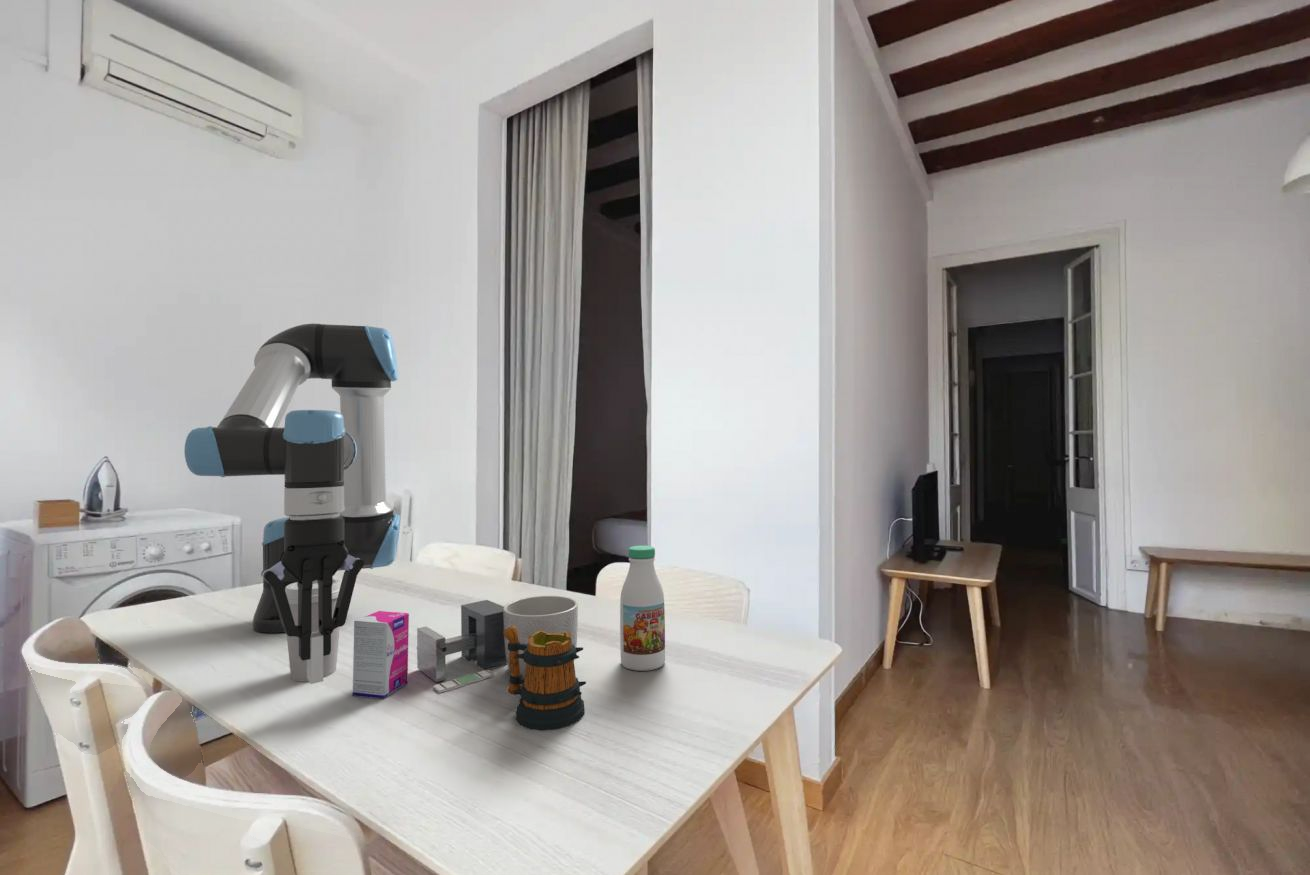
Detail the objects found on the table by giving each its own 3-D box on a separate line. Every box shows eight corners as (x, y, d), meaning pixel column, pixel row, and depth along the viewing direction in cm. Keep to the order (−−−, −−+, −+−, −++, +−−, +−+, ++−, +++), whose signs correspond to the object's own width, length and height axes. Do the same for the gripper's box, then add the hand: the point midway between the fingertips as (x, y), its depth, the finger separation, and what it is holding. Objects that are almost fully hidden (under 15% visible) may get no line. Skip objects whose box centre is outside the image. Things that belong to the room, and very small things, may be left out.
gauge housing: (461, 656, 101) (461, 605, 102) (487, 649, 105) (487, 599, 105) (484, 670, 95) (484, 615, 95) (511, 662, 98) (511, 609, 98)
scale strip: (433, 688, 88) (433, 685, 88) (487, 672, 94) (487, 669, 94) (439, 693, 86) (439, 690, 86) (493, 676, 93) (493, 673, 93)
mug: (600, 704, 82) (599, 624, 82) (560, 738, 73) (559, 648, 73) (526, 689, 87) (525, 615, 88) (481, 719, 78) (480, 635, 78)
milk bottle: (611, 664, 97) (610, 547, 97) (642, 651, 103) (641, 541, 103) (643, 676, 92) (642, 553, 92) (674, 662, 98) (673, 546, 98)
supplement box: (385, 699, 84) (385, 622, 85) (351, 696, 86) (351, 620, 86) (410, 683, 90) (409, 611, 90) (377, 680, 91) (377, 609, 92)
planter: (535, 652, 103) (534, 592, 103) (592, 663, 98) (592, 599, 98) (487, 677, 92) (486, 610, 92) (549, 691, 87) (548, 620, 87)
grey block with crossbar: (417, 668, 96) (417, 628, 96) (483, 649, 104) (483, 613, 104) (442, 686, 88) (442, 643, 88) (512, 665, 96) (511, 626, 96)
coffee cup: (337, 658, 101) (336, 574, 102) (354, 673, 95) (353, 583, 95) (274, 673, 95) (273, 584, 95) (287, 690, 88) (287, 594, 88)
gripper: (265, 522, 75) (265, 702, 74) (371, 514, 84) (371, 674, 83) (256, 518, 80) (255, 685, 80) (356, 510, 89) (356, 661, 89)
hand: (315, 679), depth 81 cm, fingers closed
